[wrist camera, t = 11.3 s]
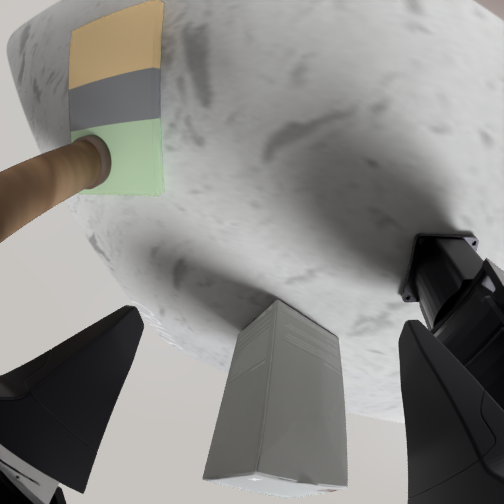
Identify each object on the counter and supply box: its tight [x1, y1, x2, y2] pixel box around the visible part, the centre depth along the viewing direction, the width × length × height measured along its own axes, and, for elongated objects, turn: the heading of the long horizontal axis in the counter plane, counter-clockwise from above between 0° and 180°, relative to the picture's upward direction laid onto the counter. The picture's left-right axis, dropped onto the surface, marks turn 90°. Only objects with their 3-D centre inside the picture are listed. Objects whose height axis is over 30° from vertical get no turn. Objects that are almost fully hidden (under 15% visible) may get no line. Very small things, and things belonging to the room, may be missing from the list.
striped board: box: [69, 0, 164, 196], centre depth 17 cm, size 16×9×1 cm, turn 178°
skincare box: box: [203, 300, 348, 498], centre depth 19 cm, size 8×7×16 cm
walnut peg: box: [0, 135, 112, 243], centre depth 14 cm, size 5×5×13 cm
